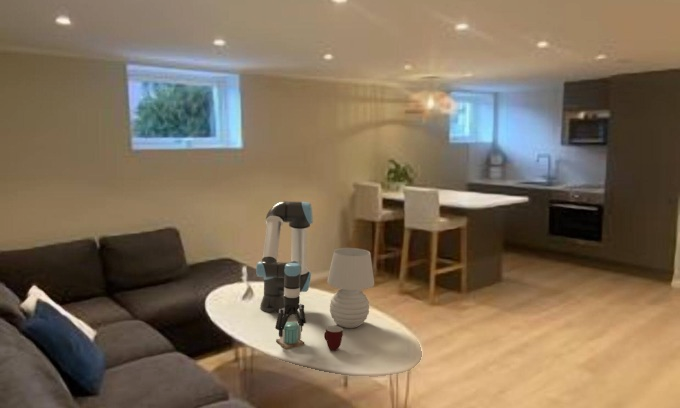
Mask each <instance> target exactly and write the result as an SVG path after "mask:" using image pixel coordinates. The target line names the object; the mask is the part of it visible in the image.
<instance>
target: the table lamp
mask: <svg viewBox="0 0 680 408" xmlns="http://www.w3.org/2000/svg"><path fill="white" fill-rule="evenodd" d="M373 271H374V270H373V263H372V255H371V252H370V251H369V250H367V249H363V248H356V247H355V248H354V247H342V248H340V247H339V248H337V249H334V251H333V255H332V258H331V263H330V267H329V272H328V276H327V281H326V283H327V284H328V285H329V286H330V287H333V288H336V289H338V290H337V291H336V292H335V293H334V294H333V296H332V297H331V299H330V303H329V312H330V316H331V318H332V319H333V321H334V322H335V323H336V324H337V326H339V327H341V328H346V329H354V328H358V327H359V326H361V325H362V324H363V323H365V321H366V320H367V318H368V316H369V312H370V301H369V299H368V297H367V295H366V294H365V293H364V292H363V291H364V290H367V289H368V290H369V289H371V288H373V287H374V286H375V279H374V277H375V276H374V272H373ZM362 290H363V291H362Z"/></svg>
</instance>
